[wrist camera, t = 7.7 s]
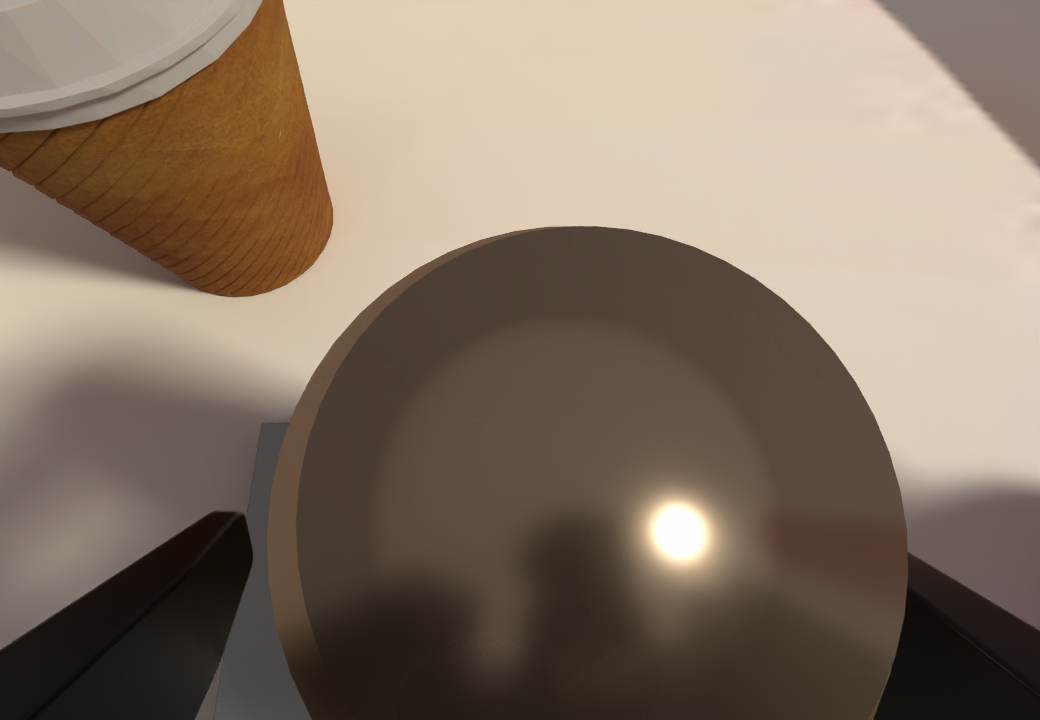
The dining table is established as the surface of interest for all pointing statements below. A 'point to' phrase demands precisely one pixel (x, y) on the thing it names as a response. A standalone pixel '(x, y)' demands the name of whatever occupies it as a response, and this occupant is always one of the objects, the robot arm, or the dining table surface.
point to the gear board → (258, 617)
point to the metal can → (585, 498)
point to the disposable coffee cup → (169, 132)
